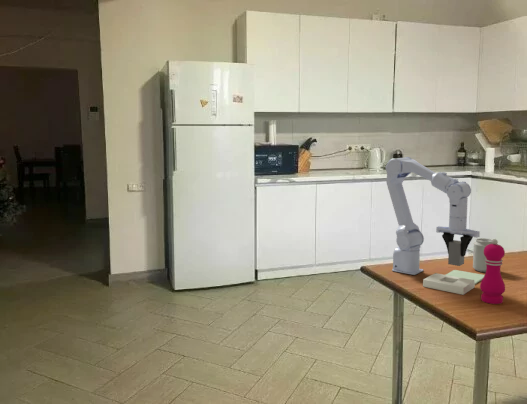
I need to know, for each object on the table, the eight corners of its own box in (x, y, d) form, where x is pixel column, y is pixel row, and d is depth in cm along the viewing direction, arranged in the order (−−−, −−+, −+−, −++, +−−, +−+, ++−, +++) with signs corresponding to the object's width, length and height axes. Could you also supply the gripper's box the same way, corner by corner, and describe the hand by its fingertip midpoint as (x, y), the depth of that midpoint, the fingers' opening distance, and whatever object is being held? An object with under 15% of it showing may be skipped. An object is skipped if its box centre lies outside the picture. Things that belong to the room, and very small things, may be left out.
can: (495, 268, 191) (496, 238, 189) (492, 273, 185) (493, 242, 183) (474, 266, 195) (475, 236, 193) (471, 271, 189) (472, 240, 187)
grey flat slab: (422, 286, 172) (423, 279, 172) (435, 279, 179) (435, 273, 179) (463, 294, 162) (463, 287, 162) (474, 287, 170) (474, 280, 169)
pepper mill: (503, 306, 151) (506, 242, 149) (477, 302, 155) (480, 240, 152) (505, 299, 157) (508, 238, 155) (481, 295, 161) (483, 235, 158)
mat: (441, 278, 181) (441, 276, 181) (454, 270, 189) (454, 269, 189) (474, 284, 172) (474, 283, 172) (486, 276, 181) (486, 275, 181)
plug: (448, 264, 174) (448, 242, 173) (452, 261, 177) (453, 240, 176) (459, 266, 171) (460, 243, 170) (464, 263, 174) (464, 241, 173)
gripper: (433, 216, 174) (431, 253, 176) (474, 220, 164) (473, 260, 166) (441, 213, 179) (440, 249, 181) (482, 217, 169) (480, 256, 171)
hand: (456, 254), depth 174 cm, fingers closed on plug, 4 cm apart
